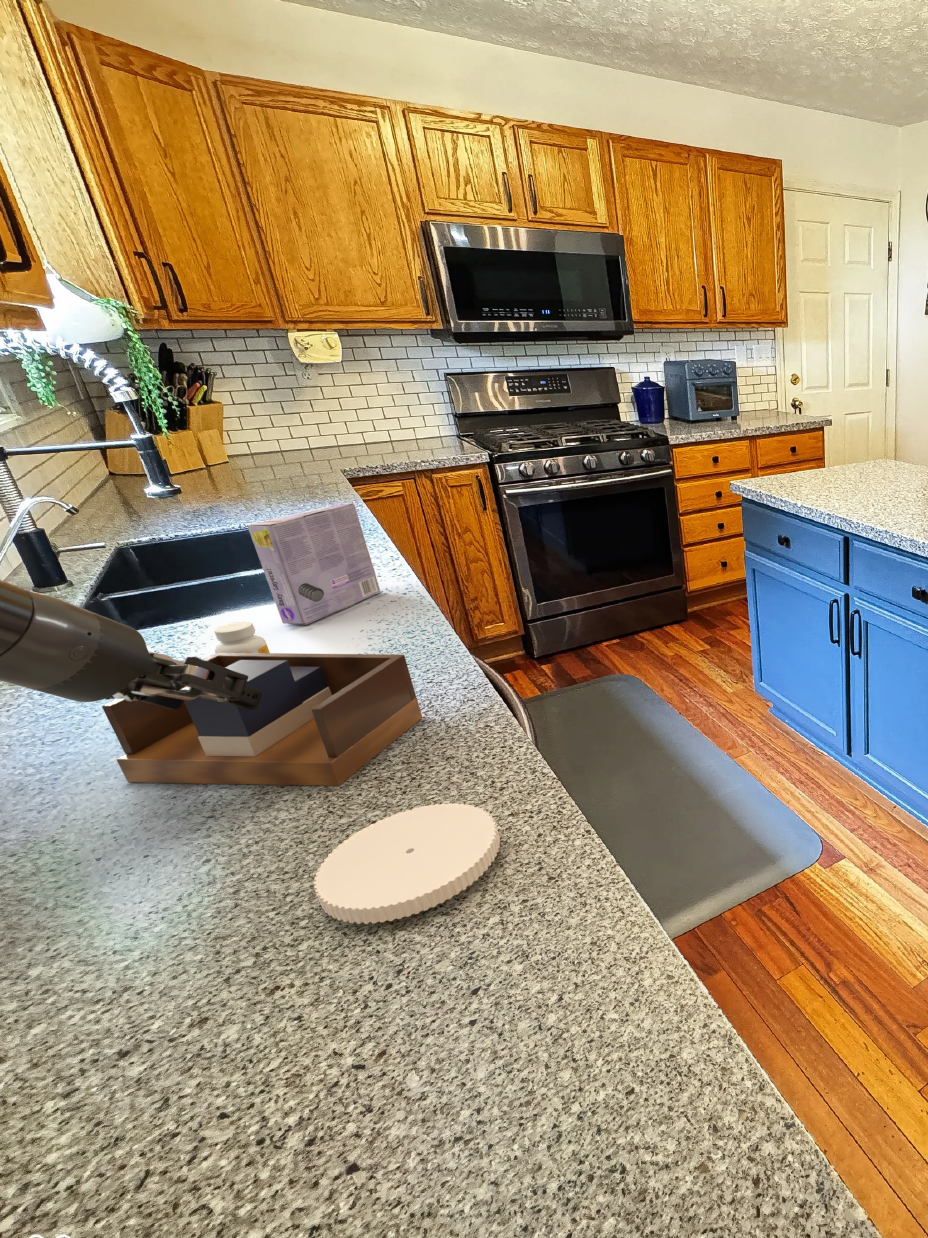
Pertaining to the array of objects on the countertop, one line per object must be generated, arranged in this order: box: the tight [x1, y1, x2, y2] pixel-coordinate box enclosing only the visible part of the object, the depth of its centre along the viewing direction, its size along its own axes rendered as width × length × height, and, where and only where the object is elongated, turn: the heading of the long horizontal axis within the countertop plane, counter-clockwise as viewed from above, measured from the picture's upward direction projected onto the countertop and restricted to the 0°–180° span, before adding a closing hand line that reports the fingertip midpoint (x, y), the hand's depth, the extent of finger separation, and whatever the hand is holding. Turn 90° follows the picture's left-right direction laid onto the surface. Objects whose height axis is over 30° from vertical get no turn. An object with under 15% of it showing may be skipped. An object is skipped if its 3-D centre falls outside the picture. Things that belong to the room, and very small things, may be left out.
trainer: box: [179, 660, 332, 757], centre depth 80 cm, size 12×6×8 cm, turn 178°
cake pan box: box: [247, 502, 381, 626], centre depth 124 cm, size 19×5×18 cm, turn 174°
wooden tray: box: [101, 652, 423, 787], centre depth 81 cm, size 24×15×9 cm, turn 88°
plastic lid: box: [313, 802, 501, 925], centre depth 62 cm, size 14×14×2 cm
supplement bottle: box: [213, 621, 271, 654], centre depth 95 cm, size 5×5×10 cm
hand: (218, 701), depth 74 cm, fingers open, 8 cm apart
